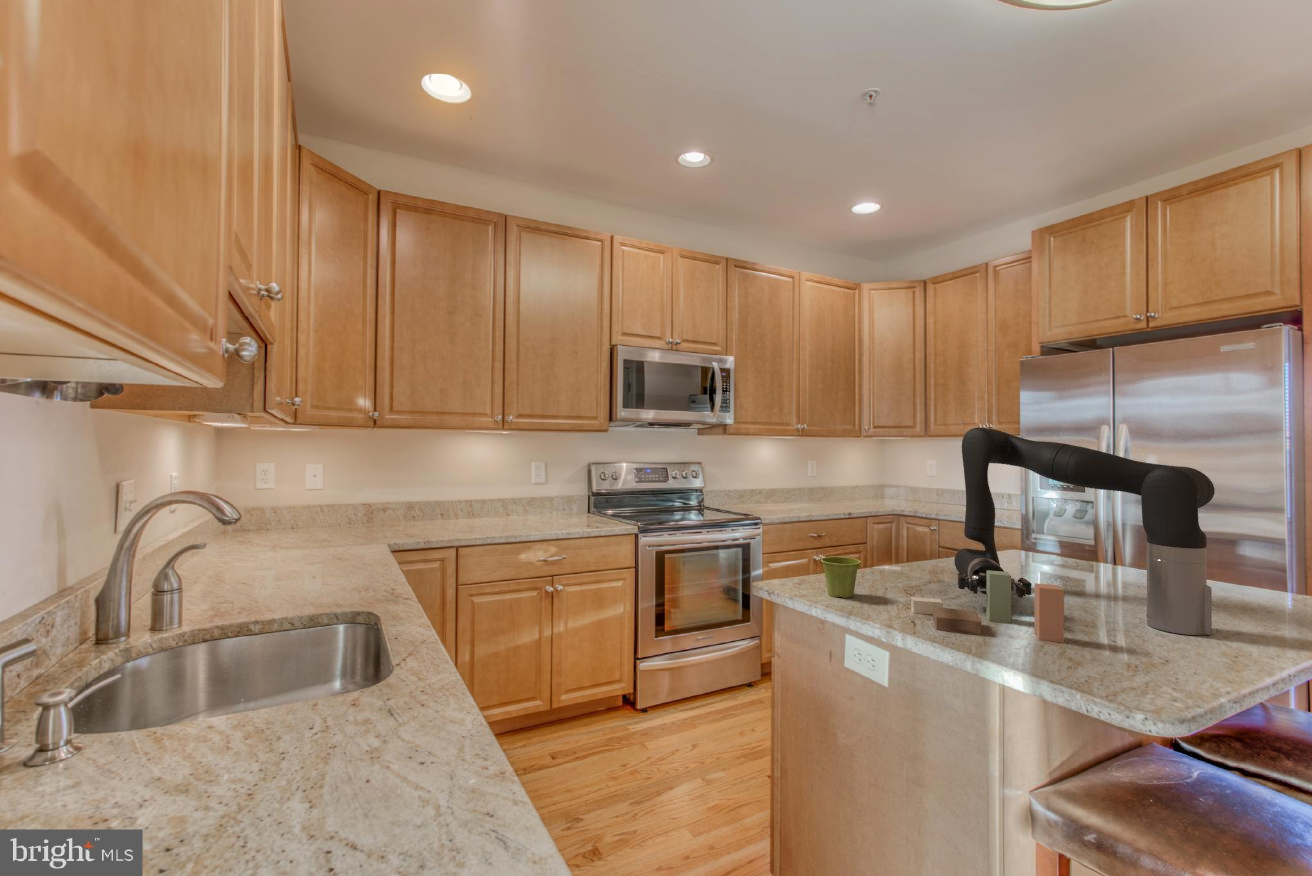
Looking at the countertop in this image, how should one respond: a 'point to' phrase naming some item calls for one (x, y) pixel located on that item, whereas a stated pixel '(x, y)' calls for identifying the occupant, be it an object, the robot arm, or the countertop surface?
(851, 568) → the object
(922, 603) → the cream brick
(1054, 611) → the terracotta block
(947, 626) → the walnut brick
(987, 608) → the sage block
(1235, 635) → the countertop surface
